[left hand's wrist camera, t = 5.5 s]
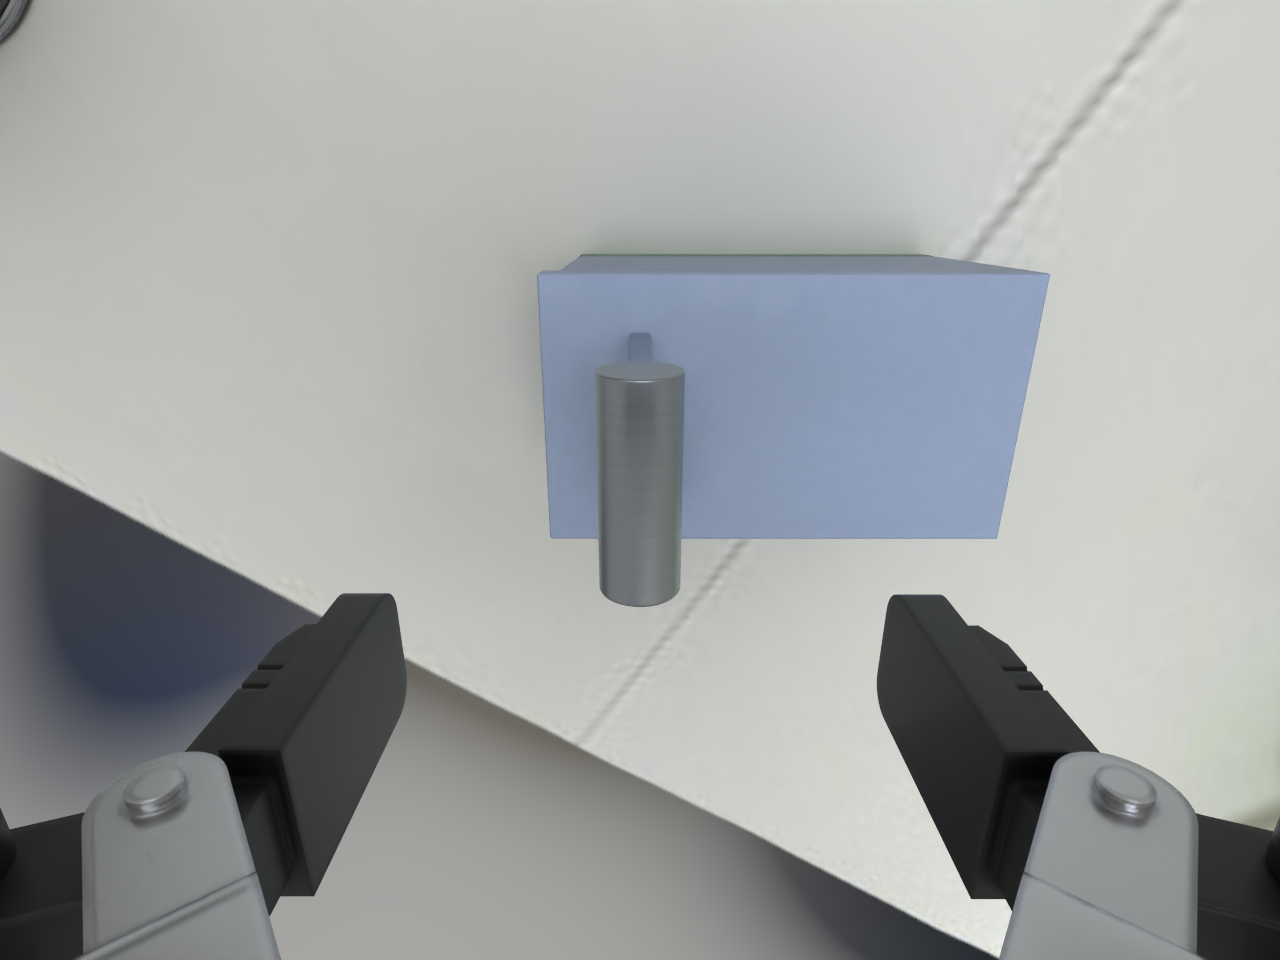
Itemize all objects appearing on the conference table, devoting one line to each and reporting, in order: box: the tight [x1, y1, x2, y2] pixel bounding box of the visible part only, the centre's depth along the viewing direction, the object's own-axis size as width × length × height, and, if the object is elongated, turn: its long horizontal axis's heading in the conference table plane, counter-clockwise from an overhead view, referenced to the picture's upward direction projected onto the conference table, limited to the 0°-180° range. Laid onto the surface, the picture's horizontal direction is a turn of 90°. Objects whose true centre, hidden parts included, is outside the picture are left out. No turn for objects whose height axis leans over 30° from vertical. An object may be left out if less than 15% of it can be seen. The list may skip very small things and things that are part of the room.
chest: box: [561, 255, 1029, 271], centre depth 30 cm, size 16×10×10 cm, turn 90°
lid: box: [537, 271, 1050, 607], centre depth 21 cm, size 17×10×9 cm, turn 90°
